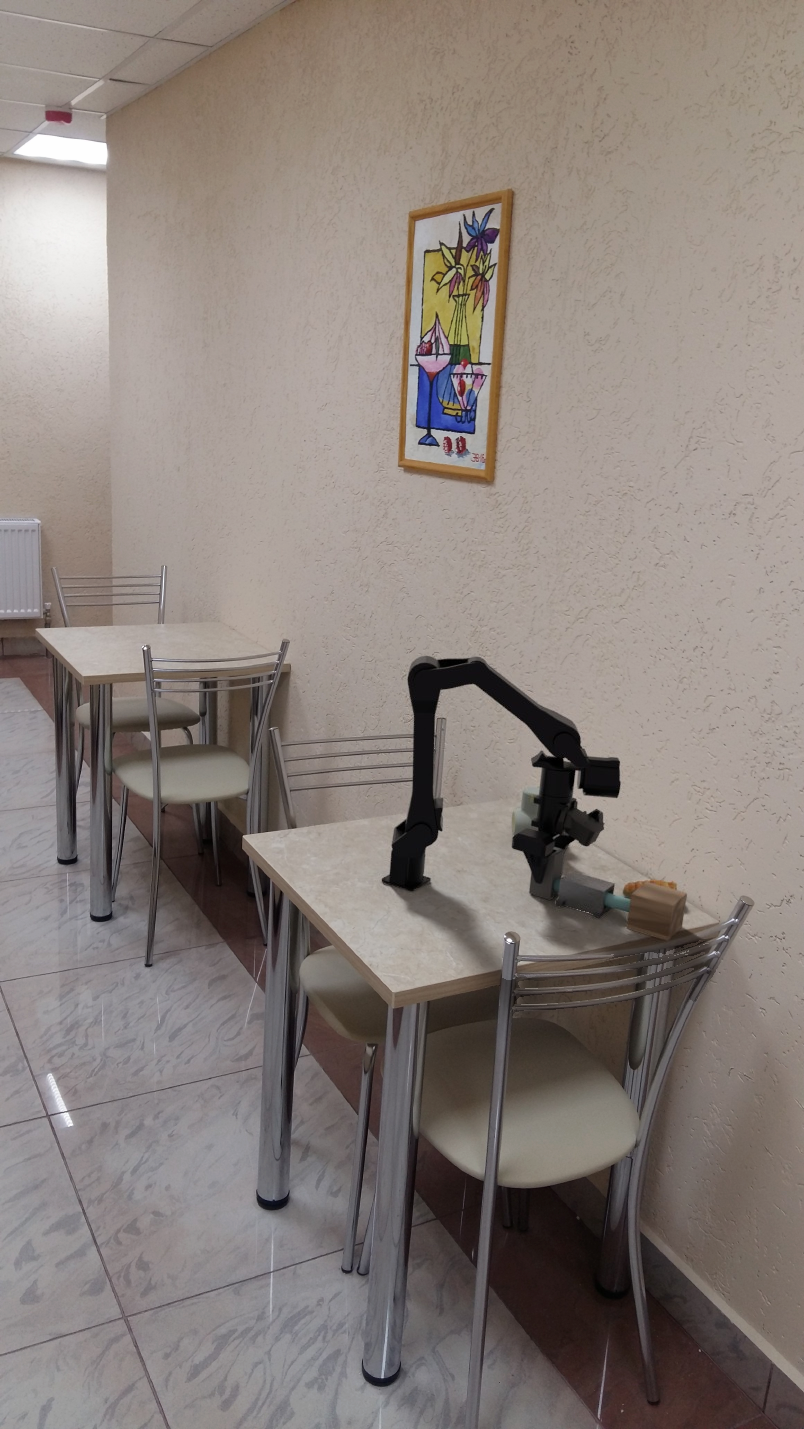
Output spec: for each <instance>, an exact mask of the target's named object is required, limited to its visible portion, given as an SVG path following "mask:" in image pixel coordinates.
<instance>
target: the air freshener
mask: <svg viewBox="0 0 804 1429" xmlns="http://www.w3.org/2000/svg"><path fill="white" fill-rule="evenodd" d="M539 788H540V786H533V785H532V786H526V787H525V788H523V789H522V794H521V803H520V804H521V805H520V807H518V808H516V809H514V810H513V811H512V813H511V833H512V835H513V836H515V835H516V834H518V833H519V832H521V831H523V830H524V829H526V828H529V829H532V830H536V831H538V828H537V827H534V826H531V821H532V820H533V819H535V818H536V815H537V806H538V804H535V803H534V797H536V796H538V795H539Z"/></svg>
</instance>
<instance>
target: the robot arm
mask: <svg viewBox="0 0 804 1429" xmlns="http://www.w3.org/2000/svg"><path fill="white" fill-rule="evenodd" d="M467 685H474V686H476V687H477V688H478V689H480V690H481V691H482V692H483V693H484V694H486V695H487V696H489V697H490V698H491V699H493V700H494V701H495V702H497V703H498V704H499V705H500V706H502V707H503V708H504V709H505V710H507V711H508V712H510V714H512V715H513V716H515V718H517V719H518V720H519V721H520V722H522V723H524V724H525V725H526V726H527V727H528V729H529V730H530V731H531V732H532V733H533V734H534V736H535V738H537V740H538V741H539V742H540V743H541V744H542V745H543V746H544V748H545V749H546V750H547V751H548V752H549V753H550V754H551V755H547V754H546V753H545V751H544V750H542V749H541V750H540V751H539V752H538V753H537V754H536V755H534V756H532V757H531V759H530V761H531V762H530V763H531V766H532V767H533V768H541V773H540V781H539V787H540V788H539V795H538V796H536V797H534V803H535V804H538V806H537V815H536V818H535V819H533V820H532V821H531V826H534V827H537V828H538V831H536V830H532V829H529V828H526V829H524V830H523V831H521V832H519V833H518V834H516V835H515V836H514V835H513V836H512V838H511V839H512V840H511V848H512V850H515V851H519V852H522V853H523V855H524V858H525V859H526V861H527V864H528V867H529V869H530V873H531V872H532V875H533V878H534V880H535V882H536V883H538V884H541V883H542V881H543V878H544V874H545V870H546V866H547V862H548V858H549V857H550V856H551V855H553V854H554V853H556V852H557V850H554V849H553V848H554V847H557V848H560V849H564V850H565V852H564V856H565V854H566V852H567V850H568V848H569V846H570V844H571V843H573V842H574V841H577V842H578V843H579V844H580V845H582V846H583V847H589V846H590V845H591V844H593V843H596V841H597V839H598V837H599V836H600V834H601V832H603V831H604V830H605V827H604V826H605V822H604V812H603V811H601V810H600V809H598V808H595V809H593V810H591V811H590V812H587V811H586V810H583V811H582V810H580V809H579V808H578V805H579V804H578V800H577V798H575V797H574V796H573V795H574V789H575V779H576V778H577V780H576V785H577V786H576V788H577V790H582V791H581V792H582V794H583V796H584V797H585V796H589V797H599V798H612V799H618V798H619V795H620V792H621V784H622V782H621V770H620V766H621V761H620V759H619V757H613V756H610V757H600V756H599V757H598V756H592V755H591V756H590V755H589V756H588V754H587V752H586V749H585V748H584V747H583V746H582V745H581V743H582V740H581V738H582V737H581V735H580V732H579V730H578V727H577V725H576V724H575V723H574V721H573V720H571V719H569V718H568V717H566V716H564V715H562V714H561V713H558V712H557V711H555V710H552V709H550V708H548V707H545V706H543V705H541V704H539V703H538V702H537V701H535V700H534V699H533V698H531V697H530V696H529V695H527V693H526V692H524V691H523V690H521V689H520V688H519V687H517V686H516V685H515V684H514V683H513V682H512V681H510V680H509V679H508V678H506V677H505V676H503V674H501V673H500V672H498V671H497V670H496V669H495V668H493V667H492V666H491V665H490V664H489V663H487V661H486V660H485V659H484V658H482V657H481V656H472V657H465V658H464V657H463V658H462V657H461V658H460V657H459V658H456V657H455V658H454V657H453V658H451V657H448V658H439V659H437V658H435V657H433V656H430V655H423V656H422V655H421V656H419V657H417V658H415V659H414V660H413V661H412V662H411V663H410V666H409V670H408V674H407V686H408V692H409V700H410V705H411V708H412V714H413V730H412V731H413V732H412V733H413V735H412V736H413V740H412V745H413V746H412V782H411V783H412V786H411V788H412V790H411V796H410V798H409V805H408V809H407V814H406V818H405V819H404V820H403V821H402V822H400V823H399V824H397V825H396V826H395V827H394V828H393V835H392V840H391V845H390V846H391V852H390V853H391V854H390V864H389V874H388V875H386V876H384V877H382V878H381V882H382V883H385V884H386V885H391V886H394V887H397V888H399V889H403V890H406V891H410V892H413V891H416V890H417V889H420V888H421V887H423V886H424V885H426V884H428V883H430V882H431V881H432V878H431V877H429V876H425V875H424V874H425V864H426V862H425V861H426V850H427V847H429V846H431V845H433V844H434V843H435V842H436V841H437V840H438V836H439V832H440V833H441V832H443V831H444V830H443V829H444V827H443V826H444V818H443V810H444V809H443V808H444V798H443V797H438V798H437V797H436V794H435V789H434V784H435V782H434V781H435V777H434V775H435V774H434V773H435V743H436V742H435V739H436V738H435V737H436V736H435V735H436V734H435V733H436V732H435V730H436V713H437V709H438V703H439V699H440V694H441V691H444V690H451V689H455V688H460V687H464V686H467ZM564 759H567V761H566V760H564ZM576 771H577V777H576Z"/></svg>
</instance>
